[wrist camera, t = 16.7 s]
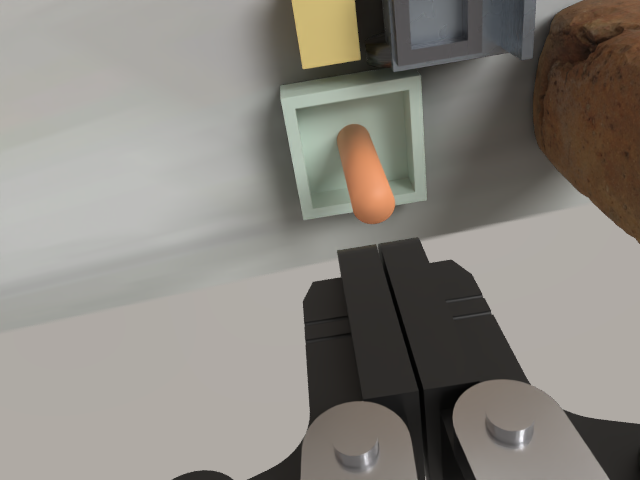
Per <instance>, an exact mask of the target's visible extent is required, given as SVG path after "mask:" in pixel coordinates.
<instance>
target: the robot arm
mask: <svg viewBox="0 0 640 480" xmlns="http://www.w3.org/2000/svg"><path fill="white" fill-rule="evenodd" d="M378 251H379V253H378ZM337 253H338V260H339V266H340V272H341V278H334V279H328V280H322V281H316V282H313V283H312V285H311V287H310V289H309V291H308V293H307V295H306V297H305V299H304V301H303V310H304V324H305V340H306V358H307V374H308V390H309V406H310V421H309V425H308V429H307V432H306V434H305V436H304V438H303V440H302V441H301V443H300V444H299V446H298V447H297V448H296V449H295V451H294V452H293V453H292V454H291V455H290V456H289V457H288V458H286V459H285V460H284V461H282V462H281V463H279V464H278V465H276V466H274V467H273V468H271V469H269V470H267V471H265V472H263V473H261V474H258V475H257V476H254V477H252V478H250V479H248V480H425V476H426V480H640V424H634V423H626V422H617V421H608V420H601V419H594V418H588V417H583V416H580V415H576V414H573V413H571V412H568V411H565V410H563V409H562V408H561V407H560V406H559V404H558V403H557V402H556V401H555V400H554V399H553V398H552V397H551V396H549V395H548V394H546V393H545V392H543V391H542V390H540V389H538V388H536V387H534V386H531V384H530V383H529V381H528V380H527V378H526V376H525V374H524V372H523V370H522V368H521V367H520V365H519V363H518V361H517V359H516V357H515V355H514V353H513V351H512V350H511V348H510V346H509V344H508V342H507V340H506V338H505V336H504V335H503V332H502V331H501V329H500V327H499V325H498V323H497V321H496V319H495V317H494V315H492V314H491V310H490V308H489V306H488V304H487V302H486V300H485V299H484V298H483V296H482V293H481V291H480V289H479V287H478V285H477V283H476V281H475V280H474V278H473V276H472V274H471V273H469V272H468V271H466V270H465V269H464V268H462V267H461V266H460V265H458V264H457V263H455V262H454V261H453V260H446V261H440V262H435V263H429V261H428V259H427V256H426V254H425V251H424V249H423V247H422V244H421V242H420V240H419V238H411V239H405V240H399V241H393V242H387V243H380V244H379V245H378V249H377V246H376V244H375V245H369V246H363V247H356V248H350V249H344V250H338V251H337ZM173 480H233V479H231V478H230V477H229V476H227V475H225V474H223V473H220V472H216V471H207V470H202V471H194V472H190V473H187V474H183V475H181V476H179V477H176V478H174V479H173Z"/></svg>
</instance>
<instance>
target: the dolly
mask: <svg viewBox="0 0 640 480" xmlns="http://www.w3.org/2000/svg"><path fill="white" fill-rule="evenodd" d="M382 4H383V16H384V29H385V33H381V34H378V35H375V36H373V37H370V38H369V39H367V40H366V41H365V47H366V57H367V63H368V64H369V65H371V66H374V67H382V68H391V69H392V70H393V72H397V71H403V70H409V69H415V68H421V67H427V66H433V65H439V64H445V63H450V62H456V61H462V60H468V59H474V58H480V57H486V56H492V55H498V54H504V53H511V54H512V55H514V56H516V57H517V58H519V59H520V60H526V59H532V58H533V45H534V28H535V11H536V0H382Z"/></svg>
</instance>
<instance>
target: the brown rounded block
mask: <svg viewBox="0 0 640 480" xmlns="http://www.w3.org/2000/svg"><path fill="white" fill-rule="evenodd" d="M533 122H534V128H535V131H534V133H535V136H536V140H537V144H538V146H539V148H540V149H541V150H542V152H543V153H544V154H545V155H546V157H547V158H548V159H549V160H550V162H551V163H552V164H553V165H554V166H555V168H556V169H557V170H558V171H559V172H560V173H561V174H562V175H563V176H564V177H565V178H566V179H567V180H568V181H569V182H570V183H571V184H572V185H573V186H574V187H575V188H576V189H577V190H578V191H579V192H580V193H581V194H583V195H585V196H586V197H588V198H589V199H590V200H591V201H592V203H594V204H595V205H596V206H597V207H598V208H599V209H600V210H601V211H602V212H603V213H604V214H605V215H606V216H607V217H609V218H610V219H611V220H612V221H614V223H615V224H616V225H617V226H619V227H620V228H622V229H623V230H624V231H625V232H626V233H627V234H629V235H631V236H632V237H634V238H636V240H637V241H638V243H639V244H640V0H583V1H581V2H578V3H576V4H574V5H572V6H569V7H567V8H565V9H563V10H561V11H560V12H559V13H557V14H556V15H555V16H554V18H553V20H552V22H551V26H550V31H549V35H548V36H547V38H546V41H545V44H544V47H543V50H542V53H541V55H540V57H539V62H538V67H537V73H536V80H535V87H534V95H533Z"/></svg>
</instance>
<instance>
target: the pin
mask: <svg viewBox="0 0 640 480" xmlns="http://www.w3.org/2000/svg"><path fill="white" fill-rule="evenodd" d="M337 146H338V150H339V154H340V158H341V162H342V167H343V171H344V175H345V179H346V184H347V188H348V192H349V196H350V200H351V205H352V209H353V212H354V214H355V216H356V217H357V218H358V219H359V220H360V221H362V222H364V223H367V224H377V223H380V222H383V221H385V220H386V219H387V218H389V217H390V216H391V214H392V213H393V211H394V208H395V199H394V196H393V193H392V191H391V188H390V186H389V183H388V180H387V178H386V175H385V173H384V170H383V168H382V165H381V163H380V160H379V157H378V155H377V152H376V150H375V147H374V145H373V142H372V140H371V137H370V134H369V132H368V131H367V129H366V128H365V127H363V126H361V125H359V124H350V125H347V126H345V127H344V128H343V129H341V131H340V132H339V134H338V136H337Z"/></svg>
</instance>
